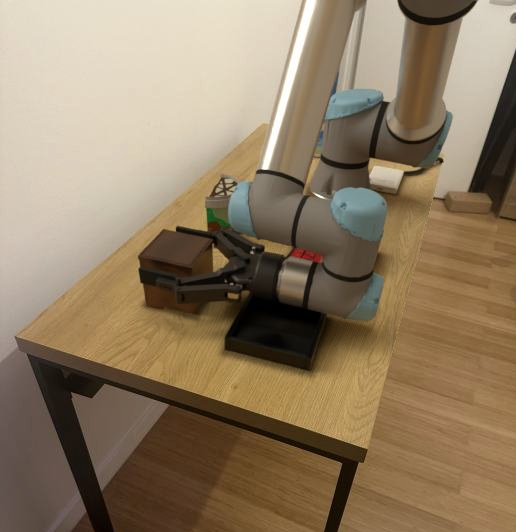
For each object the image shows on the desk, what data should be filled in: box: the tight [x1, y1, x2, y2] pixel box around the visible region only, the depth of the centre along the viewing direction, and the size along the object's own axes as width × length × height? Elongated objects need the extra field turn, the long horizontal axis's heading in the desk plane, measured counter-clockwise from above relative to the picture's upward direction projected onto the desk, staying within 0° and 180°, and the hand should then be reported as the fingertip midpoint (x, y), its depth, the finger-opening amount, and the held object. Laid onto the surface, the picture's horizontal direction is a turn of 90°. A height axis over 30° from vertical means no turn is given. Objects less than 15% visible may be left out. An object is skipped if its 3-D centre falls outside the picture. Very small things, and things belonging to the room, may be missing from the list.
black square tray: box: [224, 291, 328, 372], centre depth 75 cm, size 14×14×3 cm
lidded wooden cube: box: [137, 228, 214, 315], centre depth 79 cm, size 9×9×10 cm
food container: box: [204, 173, 241, 238], centre depth 96 cm, size 12×6×10 cm, turn 168°
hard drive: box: [369, 165, 405, 195], centre depth 121 cm, size 2×8×12 cm
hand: (159, 252), depth 77 cm, fingers open, 13 cm apart
